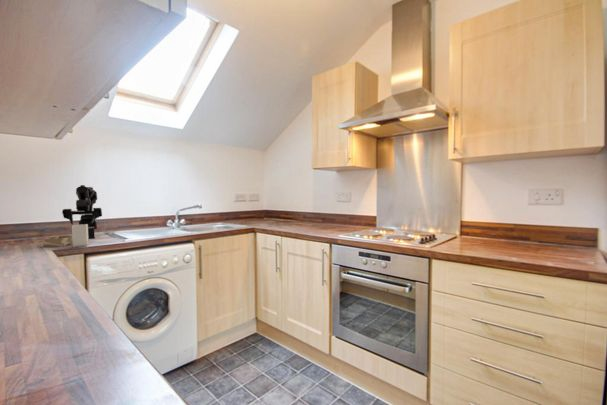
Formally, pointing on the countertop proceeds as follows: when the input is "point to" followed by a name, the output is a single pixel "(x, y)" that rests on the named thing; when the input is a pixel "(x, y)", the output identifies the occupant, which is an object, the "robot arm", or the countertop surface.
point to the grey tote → (80, 235)
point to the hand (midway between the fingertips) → (81, 223)
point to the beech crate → (57, 241)
